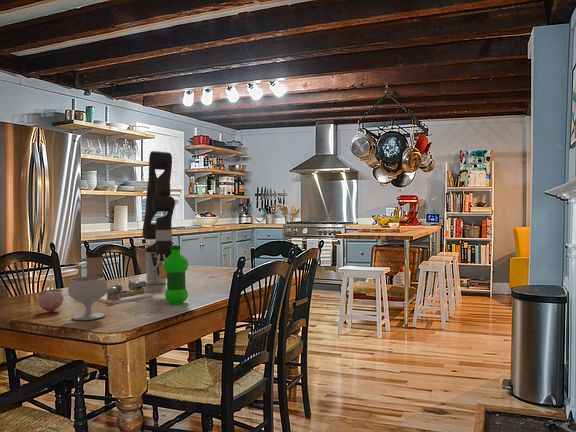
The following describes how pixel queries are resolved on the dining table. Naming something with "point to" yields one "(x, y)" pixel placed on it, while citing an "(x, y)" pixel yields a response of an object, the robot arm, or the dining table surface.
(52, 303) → the decorative fruit
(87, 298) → the chalice
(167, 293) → the plastic bottle
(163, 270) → the coupler
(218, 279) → the dining table surface
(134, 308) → the dining table surface
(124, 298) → the pale beige flat slab
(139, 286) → the shaft
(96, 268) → the travel mug
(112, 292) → the grey rounded block
